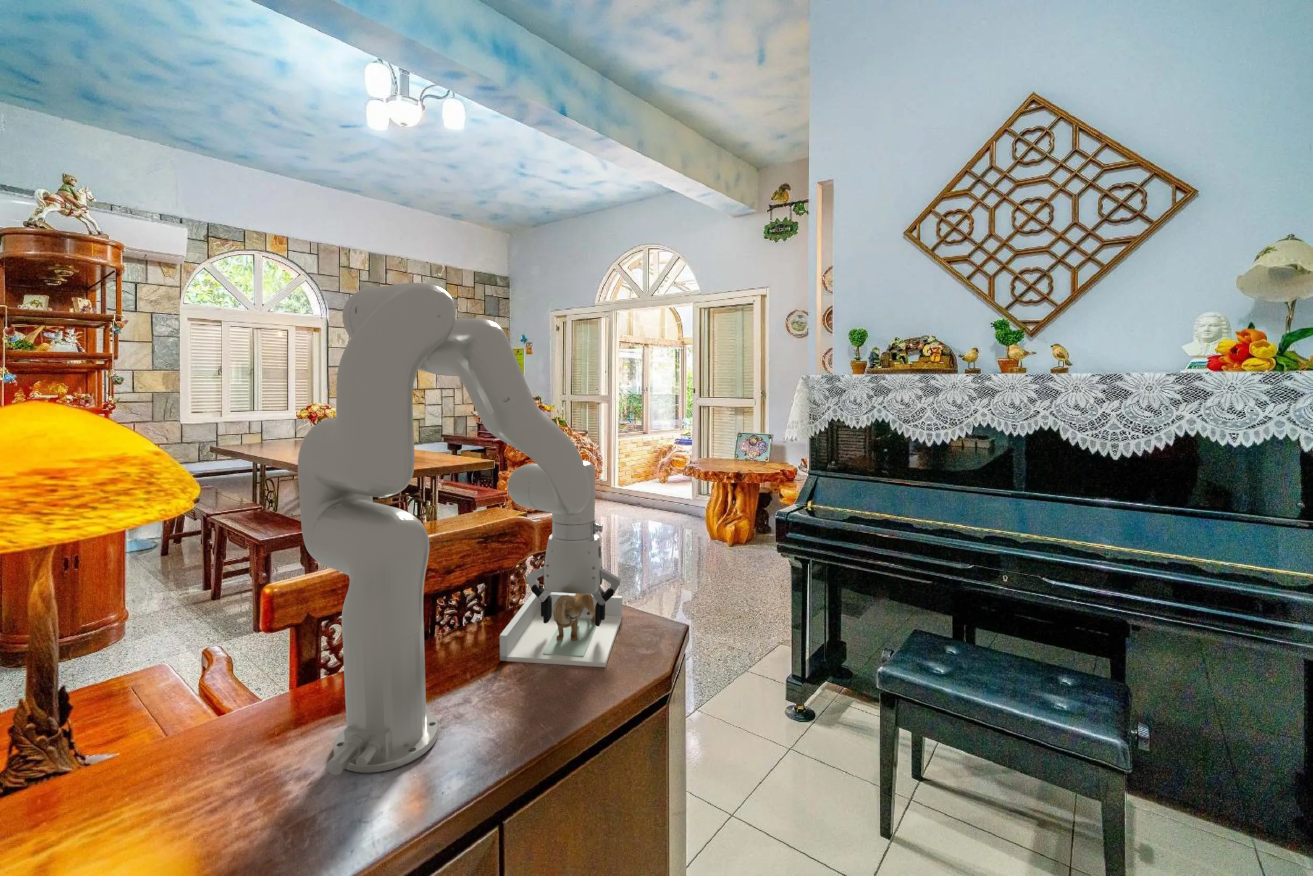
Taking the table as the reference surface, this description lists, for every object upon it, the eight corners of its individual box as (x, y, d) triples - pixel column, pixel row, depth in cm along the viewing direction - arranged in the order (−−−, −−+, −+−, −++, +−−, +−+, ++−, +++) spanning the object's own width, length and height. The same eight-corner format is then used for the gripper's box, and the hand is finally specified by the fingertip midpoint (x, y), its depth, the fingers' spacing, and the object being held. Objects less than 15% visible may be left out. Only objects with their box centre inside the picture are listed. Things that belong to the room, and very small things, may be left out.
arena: (605, 667, 99) (605, 641, 99) (499, 660, 101) (499, 635, 100) (622, 617, 119) (622, 595, 118) (534, 612, 120) (533, 591, 120)
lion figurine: (576, 652, 102) (576, 601, 101) (547, 648, 103) (547, 598, 102) (600, 617, 116) (601, 572, 115) (574, 614, 117) (575, 570, 116)
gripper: (624, 526, 109) (623, 616, 111) (532, 522, 111) (532, 610, 113) (618, 537, 102) (617, 633, 104) (519, 533, 103) (520, 628, 105)
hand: (573, 621), depth 108 cm, fingers open, 9 cm apart
